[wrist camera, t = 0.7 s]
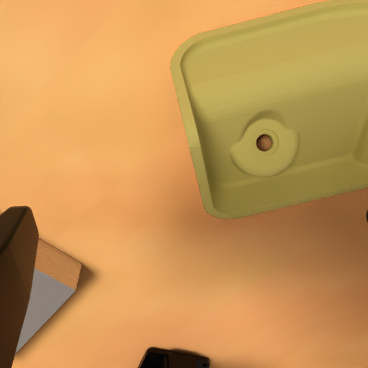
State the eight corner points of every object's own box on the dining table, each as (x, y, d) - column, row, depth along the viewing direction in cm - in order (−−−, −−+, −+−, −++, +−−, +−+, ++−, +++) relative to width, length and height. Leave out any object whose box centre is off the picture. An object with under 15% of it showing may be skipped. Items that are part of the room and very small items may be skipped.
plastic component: (208, 225, 23) (182, 118, 15) (190, 152, 28) (164, 42, 20) (489, 159, 22) (611, 11, 15) (422, 95, 27) (488, -43, 19)
